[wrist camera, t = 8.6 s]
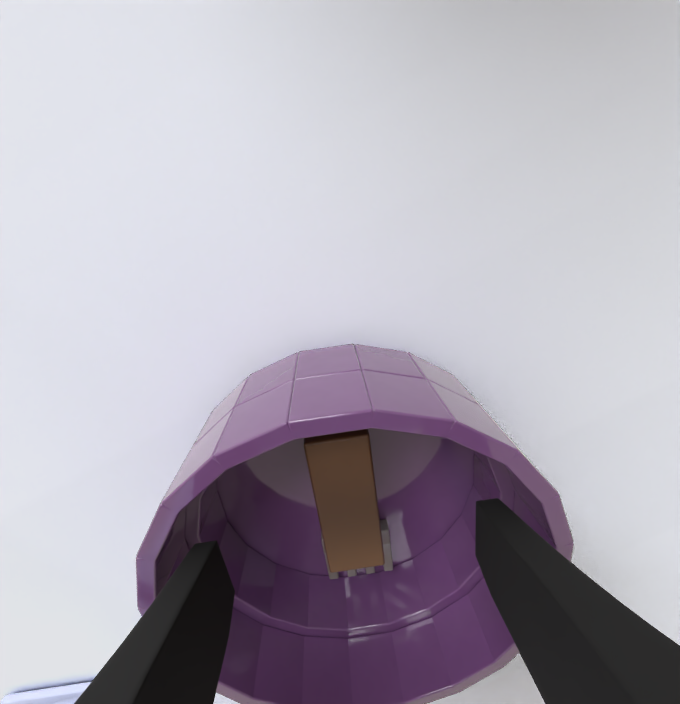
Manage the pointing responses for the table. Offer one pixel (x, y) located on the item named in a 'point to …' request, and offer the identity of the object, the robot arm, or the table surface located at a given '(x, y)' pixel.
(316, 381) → the bowl
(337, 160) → the table surface
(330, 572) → the fork with wooden handle
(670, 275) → the table surface
